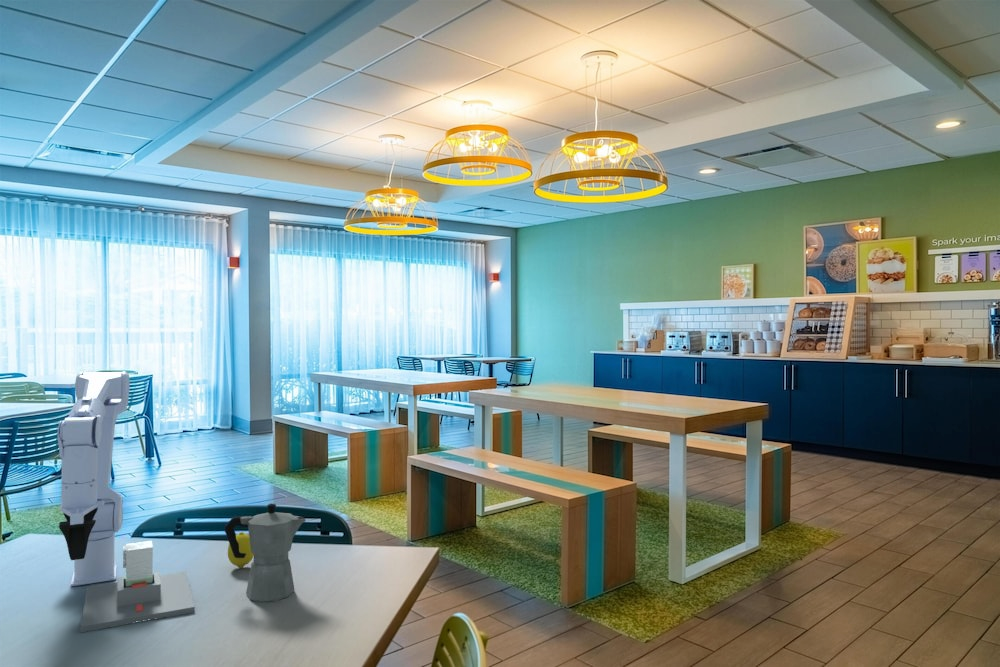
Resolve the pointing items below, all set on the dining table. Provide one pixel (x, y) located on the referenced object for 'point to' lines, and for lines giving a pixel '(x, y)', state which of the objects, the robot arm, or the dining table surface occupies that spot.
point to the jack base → (136, 601)
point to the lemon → (241, 550)
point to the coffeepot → (267, 552)
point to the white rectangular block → (138, 563)
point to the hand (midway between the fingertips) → (78, 552)
